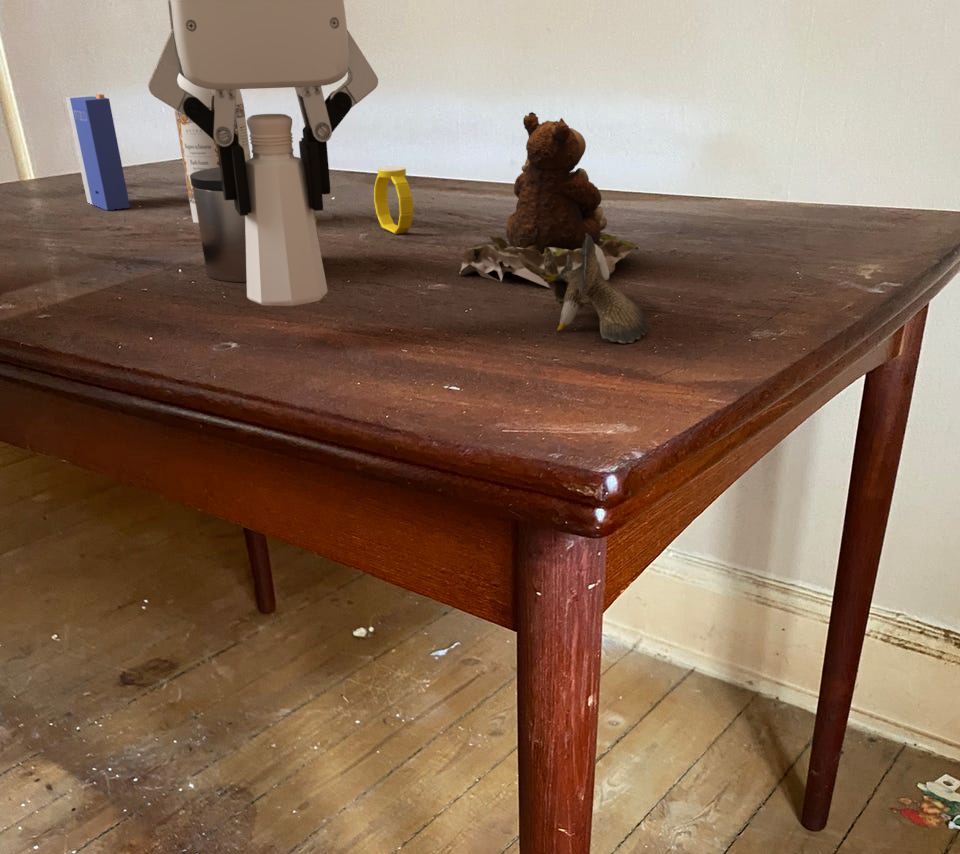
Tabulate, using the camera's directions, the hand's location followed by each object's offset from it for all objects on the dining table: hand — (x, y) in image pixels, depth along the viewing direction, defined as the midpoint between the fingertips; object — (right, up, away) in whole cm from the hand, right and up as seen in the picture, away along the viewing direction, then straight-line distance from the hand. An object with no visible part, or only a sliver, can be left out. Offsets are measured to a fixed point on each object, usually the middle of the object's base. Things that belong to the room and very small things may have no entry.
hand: (278, 206), depth 68 cm
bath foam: (-14, +17, +45) cm, 50 cm away
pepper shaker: (0, -5, +3) cm, 6 cm away
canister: (-6, +5, +25) cm, 26 cm away
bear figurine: (+19, +4, +22) cm, 30 cm away
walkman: (-32, +24, +59) cm, 71 cm away
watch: (+4, +13, +38) cm, 41 cm away
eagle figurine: (+21, -6, +5) cm, 22 cm away
